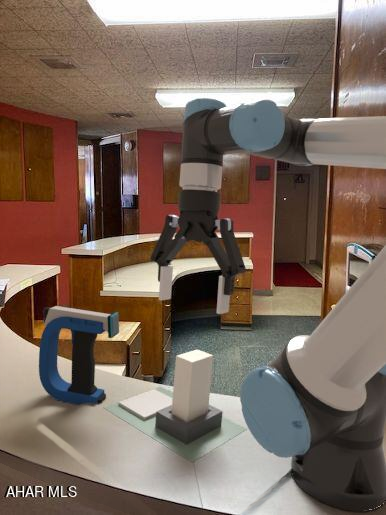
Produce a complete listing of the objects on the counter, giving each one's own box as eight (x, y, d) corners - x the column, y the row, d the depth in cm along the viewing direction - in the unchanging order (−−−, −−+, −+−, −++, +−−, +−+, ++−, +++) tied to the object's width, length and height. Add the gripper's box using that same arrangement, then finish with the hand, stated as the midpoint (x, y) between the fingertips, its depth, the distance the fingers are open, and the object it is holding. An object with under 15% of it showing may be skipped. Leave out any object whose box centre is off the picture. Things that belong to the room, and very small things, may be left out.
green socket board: (246, 433, 80) (248, 414, 80) (191, 468, 68) (193, 445, 68) (160, 390, 96) (161, 374, 95) (103, 412, 84) (104, 393, 83)
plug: (206, 425, 80) (213, 355, 79) (185, 436, 76) (192, 362, 74) (191, 417, 83) (197, 349, 81) (170, 427, 78) (176, 355, 77)
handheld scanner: (107, 411, 84) (113, 316, 82) (35, 397, 87) (40, 306, 85) (115, 402, 89) (122, 311, 87) (47, 389, 92) (52, 302, 90)
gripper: (272, 193, 70) (261, 315, 72) (162, 191, 85) (156, 292, 87) (249, 188, 64) (238, 322, 66) (136, 187, 80) (130, 296, 82)
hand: (192, 305), depth 77 cm, fingers open, 13 cm apart
